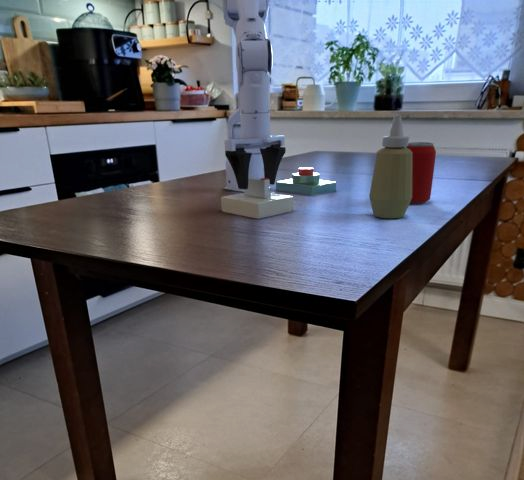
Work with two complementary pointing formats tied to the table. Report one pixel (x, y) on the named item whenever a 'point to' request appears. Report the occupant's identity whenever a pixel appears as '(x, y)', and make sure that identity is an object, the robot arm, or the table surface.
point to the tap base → (257, 205)
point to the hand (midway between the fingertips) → (256, 186)
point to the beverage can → (422, 170)
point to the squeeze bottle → (392, 175)
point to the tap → (258, 187)
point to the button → (306, 171)
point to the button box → (306, 185)
